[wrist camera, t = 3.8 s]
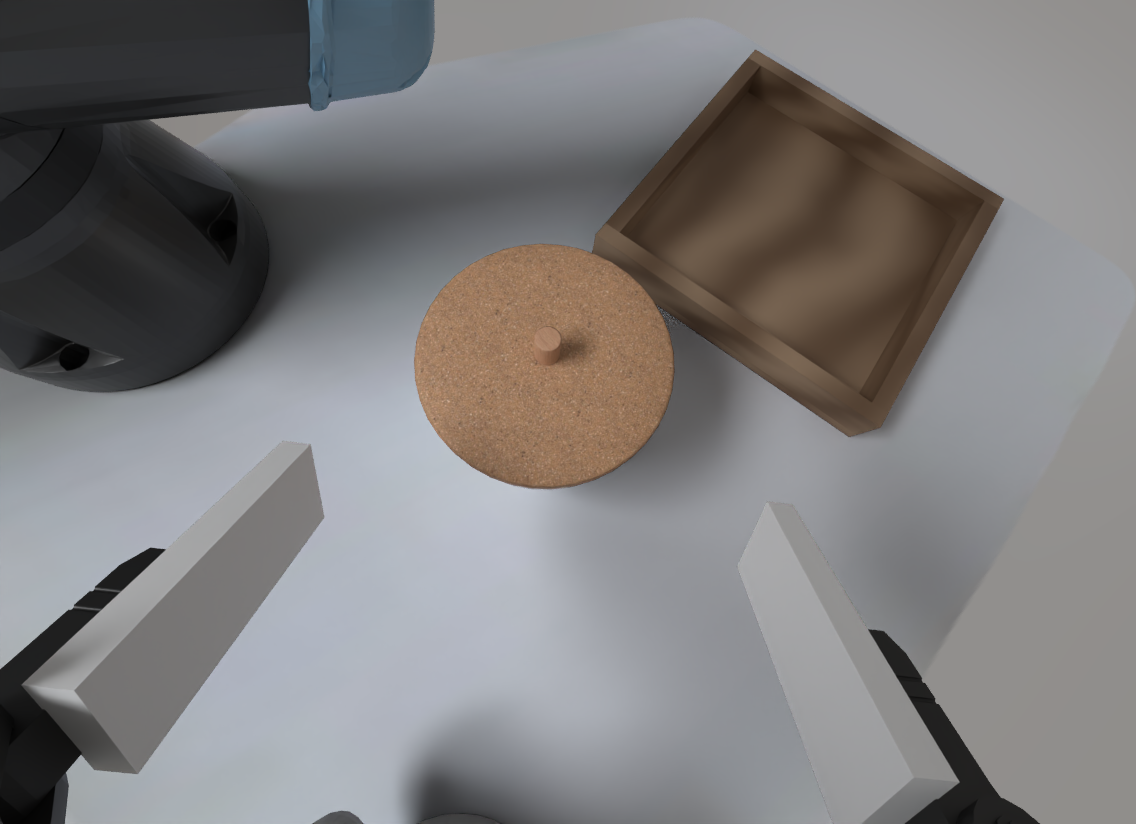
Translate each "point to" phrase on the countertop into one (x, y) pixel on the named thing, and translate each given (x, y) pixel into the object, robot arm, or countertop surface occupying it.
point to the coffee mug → (344, 820)
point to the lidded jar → (544, 366)
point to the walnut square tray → (802, 241)
